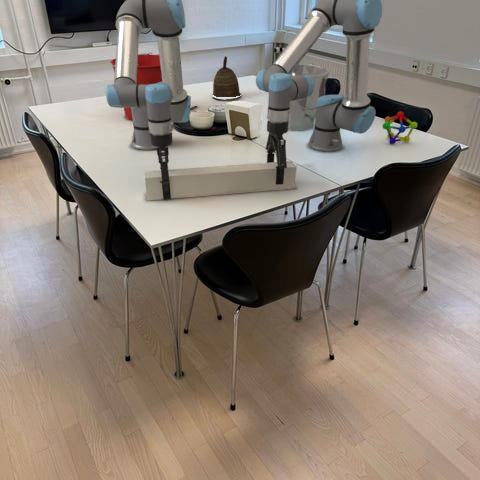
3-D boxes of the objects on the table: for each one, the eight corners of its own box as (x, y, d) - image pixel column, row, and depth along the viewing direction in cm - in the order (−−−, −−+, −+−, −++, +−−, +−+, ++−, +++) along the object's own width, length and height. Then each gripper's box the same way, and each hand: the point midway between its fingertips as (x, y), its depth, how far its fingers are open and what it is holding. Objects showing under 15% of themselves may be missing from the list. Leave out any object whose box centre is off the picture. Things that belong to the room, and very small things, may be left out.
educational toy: (377, 146, 209) (379, 114, 202) (384, 138, 219) (386, 107, 211) (411, 149, 202) (415, 116, 195) (417, 141, 212) (420, 109, 204)
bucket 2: (296, 138, 215) (301, 78, 201) (255, 124, 234) (256, 68, 219) (335, 125, 232) (342, 70, 217) (294, 113, 251) (297, 61, 236)
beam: (147, 200, 158) (144, 178, 154) (147, 193, 163) (144, 171, 159) (294, 188, 167) (296, 166, 163) (290, 182, 172) (291, 160, 168)
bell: (227, 105, 294) (202, 96, 282) (238, 66, 289) (213, 55, 277) (243, 108, 280) (217, 98, 268) (255, 66, 275) (229, 55, 263)
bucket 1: (124, 106, 262) (117, 51, 246) (183, 106, 262) (180, 52, 246) (108, 124, 233) (99, 63, 217) (174, 124, 232) (170, 64, 216)
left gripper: (174, 141, 142) (178, 205, 154) (170, 123, 158) (175, 182, 170) (150, 142, 141) (157, 207, 153) (149, 124, 157) (155, 184, 169)
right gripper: (299, 131, 145) (293, 189, 156) (278, 110, 166) (275, 163, 177) (277, 132, 144) (273, 191, 155) (259, 111, 165) (257, 164, 176)
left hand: (166, 194), depth 162 cm, fingers closed on beam, 6 cm apart
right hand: (274, 176), depth 166 cm, fingers open, 13 cm apart
